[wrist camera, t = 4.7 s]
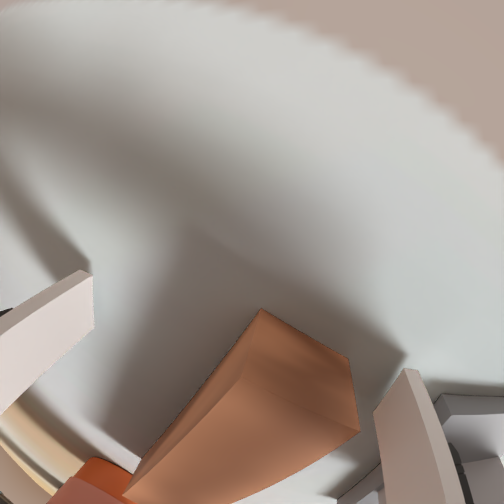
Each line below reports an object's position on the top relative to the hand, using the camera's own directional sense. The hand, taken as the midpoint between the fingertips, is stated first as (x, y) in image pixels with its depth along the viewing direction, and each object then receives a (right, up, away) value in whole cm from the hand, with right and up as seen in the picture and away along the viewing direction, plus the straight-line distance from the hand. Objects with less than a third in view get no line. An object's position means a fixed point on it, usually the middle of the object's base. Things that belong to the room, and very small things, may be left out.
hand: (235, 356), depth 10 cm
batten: (-1, -5, +3) cm, 6 cm away
